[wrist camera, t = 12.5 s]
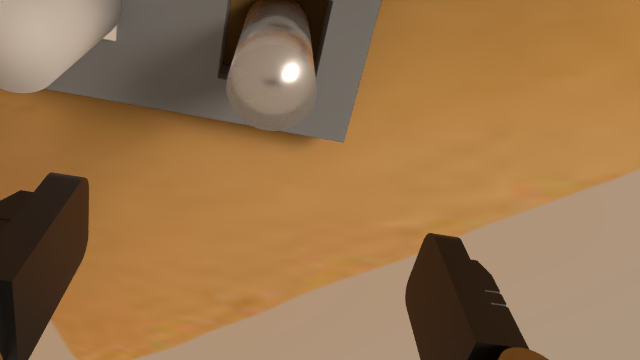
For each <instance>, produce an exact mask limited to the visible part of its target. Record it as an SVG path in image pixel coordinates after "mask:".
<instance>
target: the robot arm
mask: <svg viewBox="0 0 640 360" xmlns="http://www.w3.org/2000/svg"><path fill="white" fill-rule="evenodd" d="M88 216H89V184H88V180H87V178H83V177H77V176H71V175H64V174H58V173H49V174H48V175H47V176H46V178H45V179H44V180H43V181H42V182H41V184H40V185H39V186H38V187H37V189H36V190H35V191H34V192H28V191H22V190H20V191H18V192H16V193H15V194H13V195H11V196H9V197H7V198H5V199H3V200H1V201H0V360H28V359H29V357H30V355H31V354H32V352H33V350H34V348H35V346H36V344H37V343H38V341H39V339H40V337H41V335H42V333H43V332H44V330H45V328H46V326H47V324H48V322H49V321H50V319H51V317H52V315H53V313H54V311H55V310H56V308H57V306H58V304H59V302H60V300H61V298H62V297H63V295H64V293H65V291H66V289H67V287H68V286H69V284H70V282H71V280H72V278H73V276H74V275H75V273H76V271H77V269H78V267H79V265H80V263H81V262H82V259H83V257H84V254H85V251H86V247H87V241H88ZM499 292H500V291H499V289H498V287H497V285H496V283H495V281H494V279H493V277H492V275H491V274H490V273H489V272H488V271H487V270H486V269H485V268H484V267H483V266H482V265H481V264H480V263H479V262H478V261H476V260H470V258H469V256H468V254H467V251H466V249H465V247H464V245H463V243H462V241H461V239H460V238H458V237H452V236H445V235H439V234H433V233H429V234H427V235H426V237H425V238H424V241H423V243H422V246H421V248H420V251H419V253H418V256H417V259H416V262H415V264H414V267H413V269H412V272H411V274H410V277H409V280H408V283H407V287H406V296H405V298H406V299H405V300H406V307H407V311H408V315H409V319H410V322H411V326H412V329H413V333H414V337H415V341H416V345H417V348H418V352H419V356H420V359H421V360H548V359H547V358H545V357H544V356H542V355H540V354H538V353H536V352H534V351H531V350H529V348H528V346H527V344H526V342H525V340H524V338H523V336H522V334H521V333H520V330H519V328H518V326H517V324H516V322H515V320H514V318H513V316H512V314H511V312H510V310H509V308H508V307H506V302H505V301H504V299H503V297H502V295H501V294H499Z"/></svg>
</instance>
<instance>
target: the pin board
mask: <svg viewBox="0 0 640 360" xmlns="http://www.w3.org/2000/svg"><path fill="white" fill-rule="evenodd" d="M381 1H382V0H328V4H327V8H326V13H325V17H324V22H323V26H322V31H321V35H320V40H319V44H318V49H317V54H316V58H315V63H314V69H315V76H316V84H317V94H316V99H315V103H314V105H313V107H312V109H311V111H310V112H309V114H308V115H307V116H306V117H305V118H304V119H303V120H302V121H301V122H299V123H298V124H296V125H295V126H293V127H290V128H288V129H284V130H279V131H282V132H288V133H293V134H299V135H304V136H310V137H316V138H321V139H327V140H332V141H338V142H343V143H344V140H345V136H346V132H347V129H348V125H349V121H350V117H351V114H352V110H353V106H354V102H355V99H356V95H357V91H358V87H359V84H360V80H361V76H362V73H363V69H364V65H365V61H366V58H367V54H368V50H369V46H370V43H371V39H372V35H373V31H374V28H375V24H376V20H377V16H378V13H379V9H380V5H381ZM230 4H231V0H0V89H3V90H5V91H9V92H13V93H33V92H37V91H40V90H42V89H48V90H54V91H60V92H65V93H71V94H76V95H82V96H87V97H93V98H99V99H104V100H110V101H115V102H121V103H126V104H132V105H138V106H143V107H149V108H154V109H160V110H165V111H171V112H176V113H182V114H188V115H193V116H199V117H204V118H210V119H215V120H221V121H227V122H232V123H238V124H243V125H249V124H247V123H246V122H244V121H243V120H242V119H241V118H240V117H239V116H238V115H237V114H236V113H235V112H234V110H233V109H232V107H231V105H230V103H229V100H228V96H227V90H226V84H227V77H228V74H229V70H230V67H231V66H229V65H224V64H223V56H224V49H225V41H226V34H227V27H228V19H229V12H230ZM249 126H251V125H249Z"/></svg>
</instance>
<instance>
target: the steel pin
mask: <svg viewBox="0 0 640 360" xmlns="http://www.w3.org/2000/svg"><path fill="white" fill-rule="evenodd" d="M226 90H227V96H228V100H229V103H230V105H231V107H232V109H233V110H234V112H235V113H236V114H237V115H238V116H239V117H240V118H241V119H242V120H243V121H244V122H246V123H247V124H249V125H251V126H253V127H255V128H258V129H261V130H267V131H279V130H284V129H288V128H290V127H293V126H295V125H296V124H298V123H299V122H301V121H302V120H303V119H304V118H305V117H306V116H307V115H308V114H309V112H310V111H311V109H312V107H313V105H314V103H315V99H316V94H317V84H316V76H315V69H314V61H313V53H312V45H311V37H310V29H309V22H308V18H307V15H306V13H305V11H304V9H303V8H302V7H301V6H300V5H299V3H297V2H296V1H295V0H258V1H256V2H255V3H254V4H253V5H252V6H251V8H250V9H249V11H248V13H247V16H246V19H245V22H244V25H243V29H242V32H241V35H240V38H239V41H238V45H237V48H236V51H235V54H234V57H233V61H232V64H231V67H230V70H229V74H228V77H227V84H226Z"/></svg>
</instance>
